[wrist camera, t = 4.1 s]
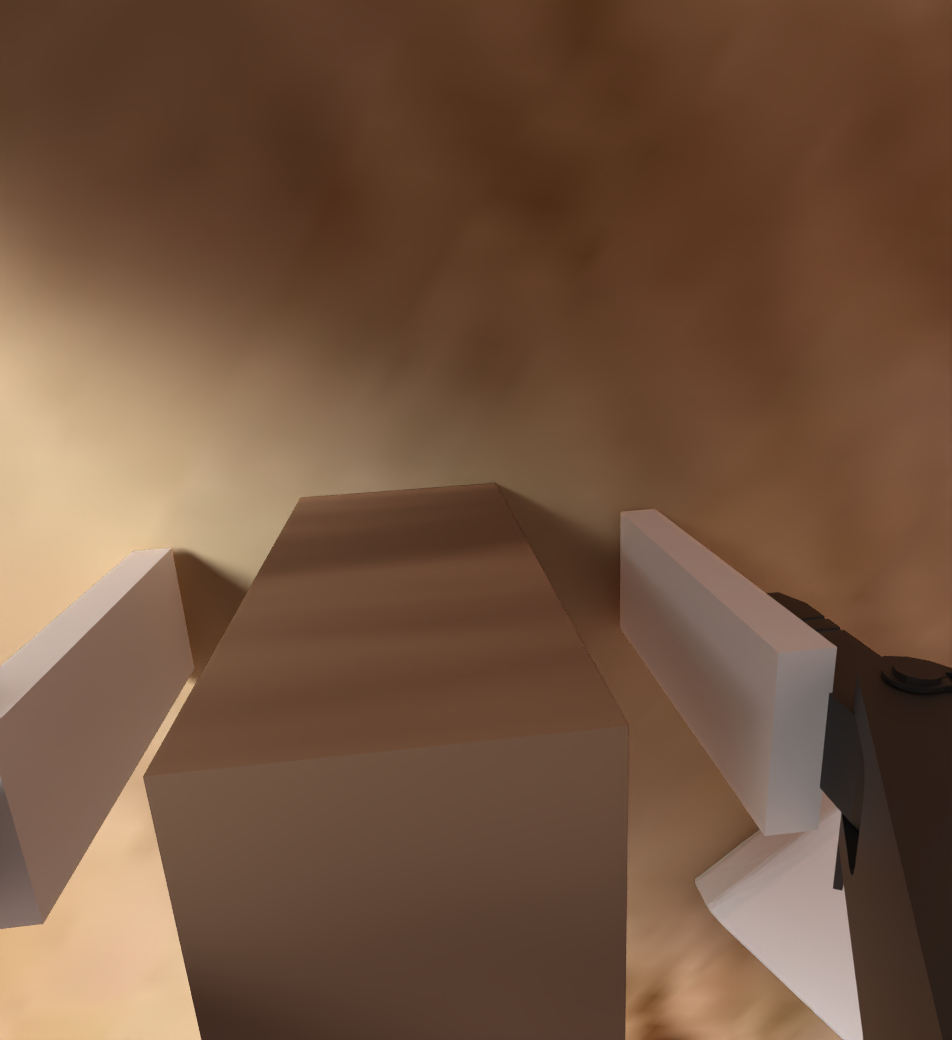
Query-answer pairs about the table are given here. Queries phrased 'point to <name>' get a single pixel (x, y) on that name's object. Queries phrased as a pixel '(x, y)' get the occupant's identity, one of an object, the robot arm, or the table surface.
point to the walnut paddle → (399, 790)
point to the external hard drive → (792, 915)
